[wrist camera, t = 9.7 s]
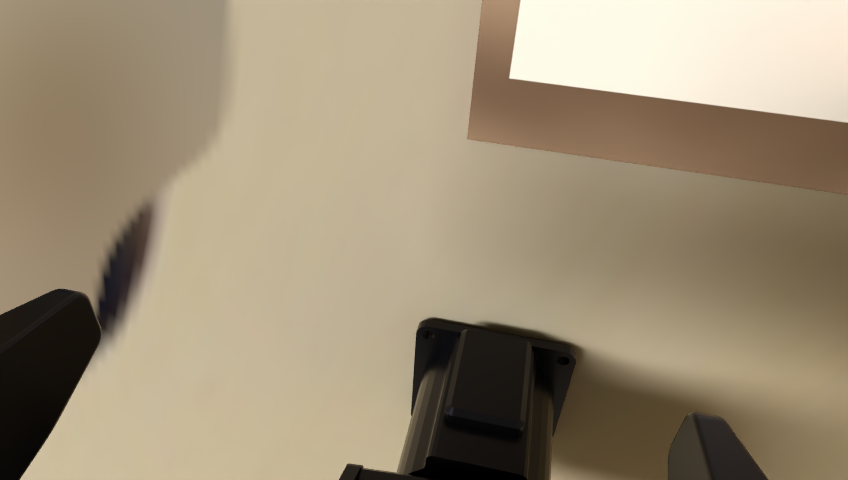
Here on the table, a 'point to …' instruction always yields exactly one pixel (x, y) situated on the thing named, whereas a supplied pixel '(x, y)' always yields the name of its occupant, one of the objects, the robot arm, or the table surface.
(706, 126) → the brown flat board
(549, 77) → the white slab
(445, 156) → the table surface
